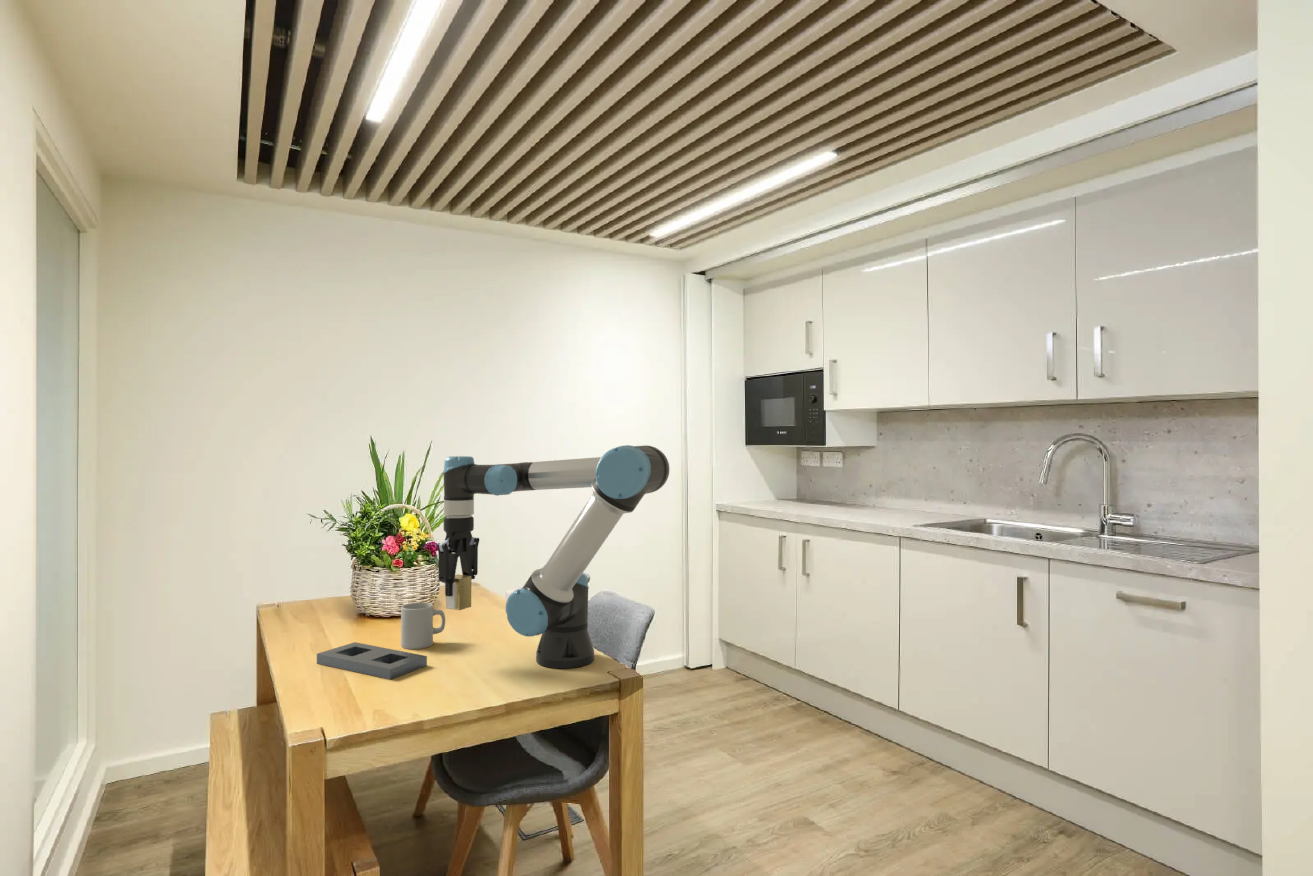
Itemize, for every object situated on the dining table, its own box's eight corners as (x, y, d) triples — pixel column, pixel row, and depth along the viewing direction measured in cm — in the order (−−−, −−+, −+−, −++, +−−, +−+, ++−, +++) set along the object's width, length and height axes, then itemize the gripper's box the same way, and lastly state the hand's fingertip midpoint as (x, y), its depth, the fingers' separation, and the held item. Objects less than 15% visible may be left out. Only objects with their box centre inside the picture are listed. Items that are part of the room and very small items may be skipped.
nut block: (471, 606, 195) (471, 576, 195) (459, 610, 191) (459, 579, 191) (457, 604, 197) (458, 574, 197) (445, 608, 193) (445, 577, 193)
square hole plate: (426, 665, 191) (426, 656, 191) (390, 679, 180) (390, 669, 180) (354, 651, 203) (355, 642, 203) (316, 663, 192) (316, 653, 192)
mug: (403, 651, 204) (403, 610, 204) (398, 643, 211) (398, 604, 211) (448, 645, 209) (448, 606, 209) (441, 638, 217) (442, 600, 217)
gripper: (470, 512, 203) (470, 598, 203) (422, 518, 188) (422, 611, 188) (492, 513, 200) (492, 601, 200) (445, 520, 184) (445, 615, 184)
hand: (458, 606), depth 194 cm, fingers closed on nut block, 4 cm apart
